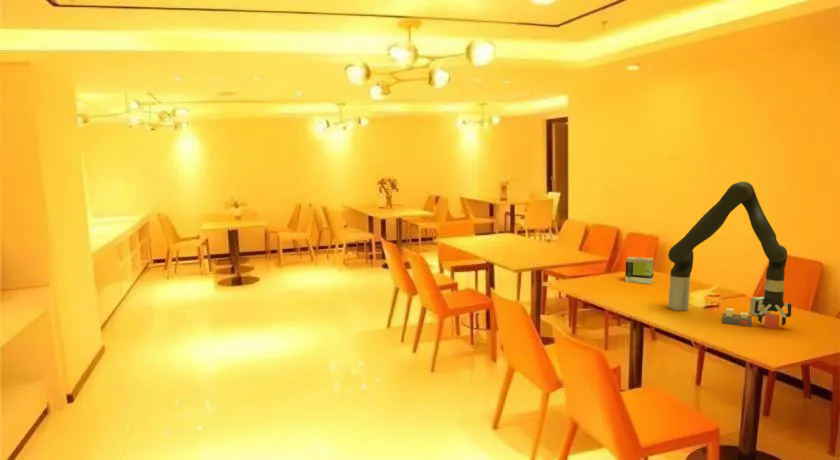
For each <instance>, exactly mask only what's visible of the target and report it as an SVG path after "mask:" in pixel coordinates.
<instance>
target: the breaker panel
mask: <svg viewBox="0 0 840 460" xmlns="http://www.w3.org/2000/svg"><path fill="white" fill-rule="evenodd" d="M721 314H722V315H721V316H722V317H721V324H725V325H733V326H743V327H752V322H753V319H752V315H748V319H746V318H740V315H741V314H738V313H733V317H728V316H726V312H722V313H721Z"/></svg>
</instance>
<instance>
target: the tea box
mask: <svg viewBox="0 0 840 460" xmlns="http://www.w3.org/2000/svg"><path fill="white" fill-rule="evenodd" d="M654 264H655V259H654V258H653V257H637V256H636V257H635V256H628V257H627V258H625V275H624V276H625V277H624V278H625V282H628V283H636V284H647V285H648V284H649V285H651V284H652V283H653V282H654V270H655V269H654Z"/></svg>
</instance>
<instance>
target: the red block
mask: <svg viewBox="0 0 840 460" xmlns="http://www.w3.org/2000/svg"><path fill="white" fill-rule="evenodd" d="M763 322H764V324H763V325H764V326H763V327H764V328H765V329H775V330H780V329H779V328H780V314H779V313H778V314H777V313H771V312H770V313H765V316H764V321H763Z"/></svg>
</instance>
